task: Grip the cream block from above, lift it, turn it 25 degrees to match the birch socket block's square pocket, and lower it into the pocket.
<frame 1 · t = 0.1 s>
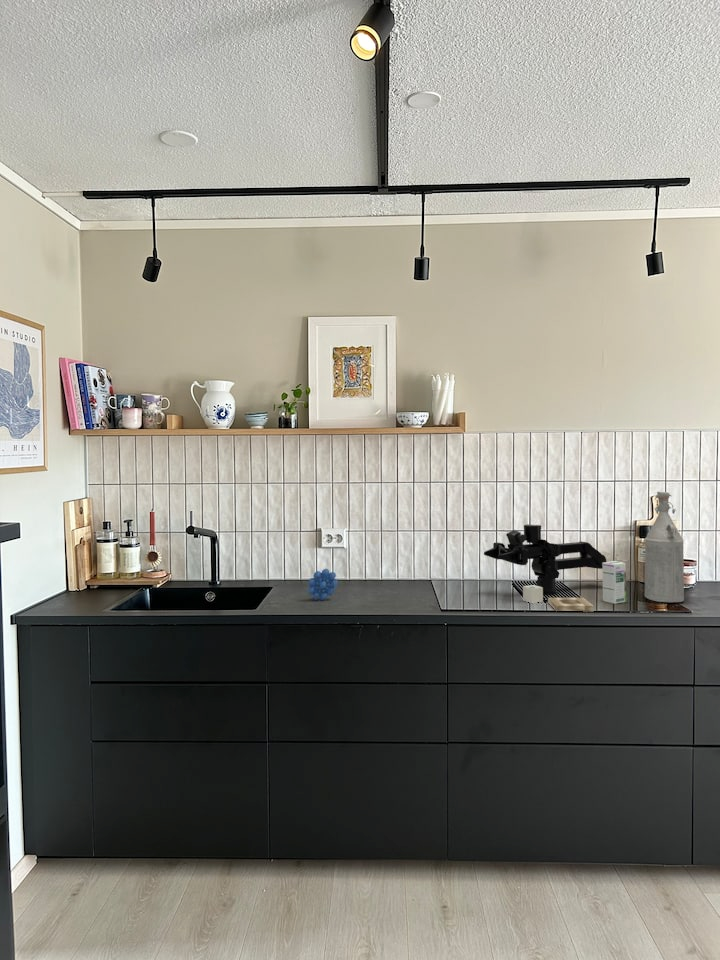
hand: (491, 555, 237), 17 cm above the countertop, tool horizontal, fingers open, 9 cm apart
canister: (664, 599, 232), on the countertop
socket block: (570, 607, 222), on the countertop
cream block: (532, 601, 232), on the countertop
syrup box: (614, 602, 230), on the countertop
grapes: (322, 600, 241), on the countertop
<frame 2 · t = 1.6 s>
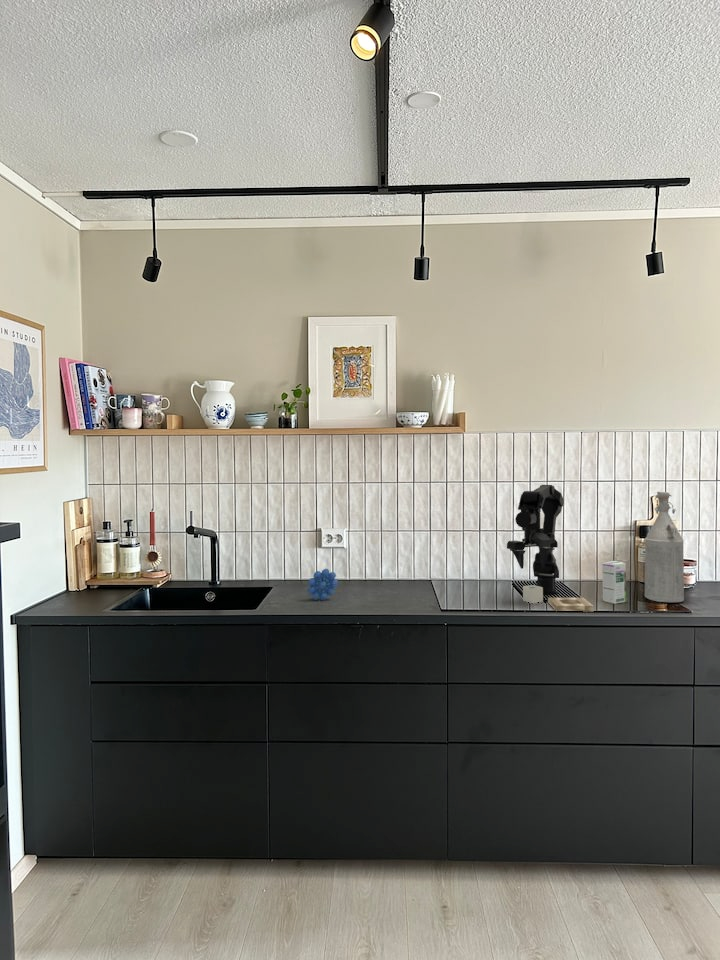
hand: (532, 567, 232), 12 cm above the countertop, tool pointing down, fingers open, 9 cm apart
nothing on the countertop moved.
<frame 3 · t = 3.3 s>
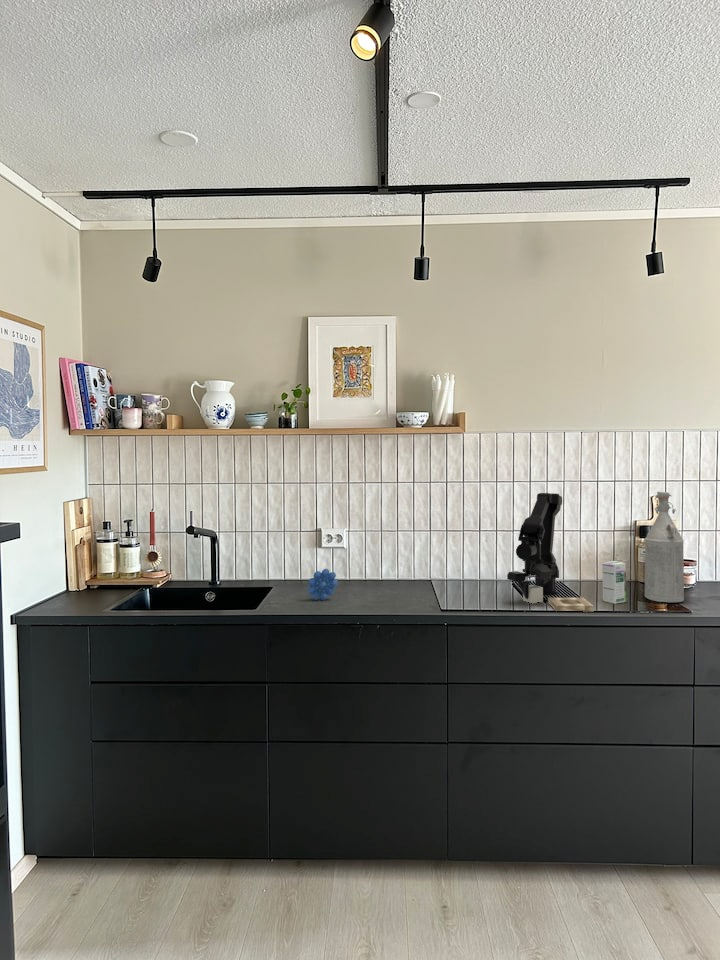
hand: (532, 598, 232), 1 cm above the countertop, tool pointing down, fingers closed on cream block, 5 cm apart
cream block: (532, 601, 232), on the countertop, touching gripper
everything else where it was.
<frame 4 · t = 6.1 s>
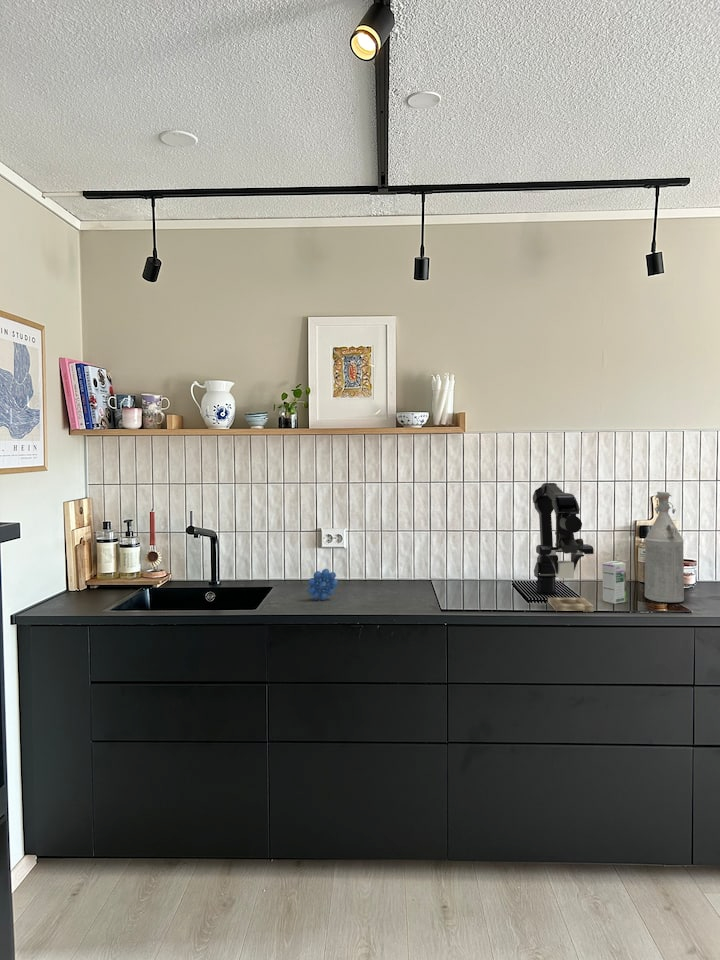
hand: (564, 573, 223), 12 cm above the countertop, tool pointing down, fingers closed on cream block, 5 cm apart
cream block: (564, 577, 223), point 10 cm above the countertop, touching gripper
everything else where it was.
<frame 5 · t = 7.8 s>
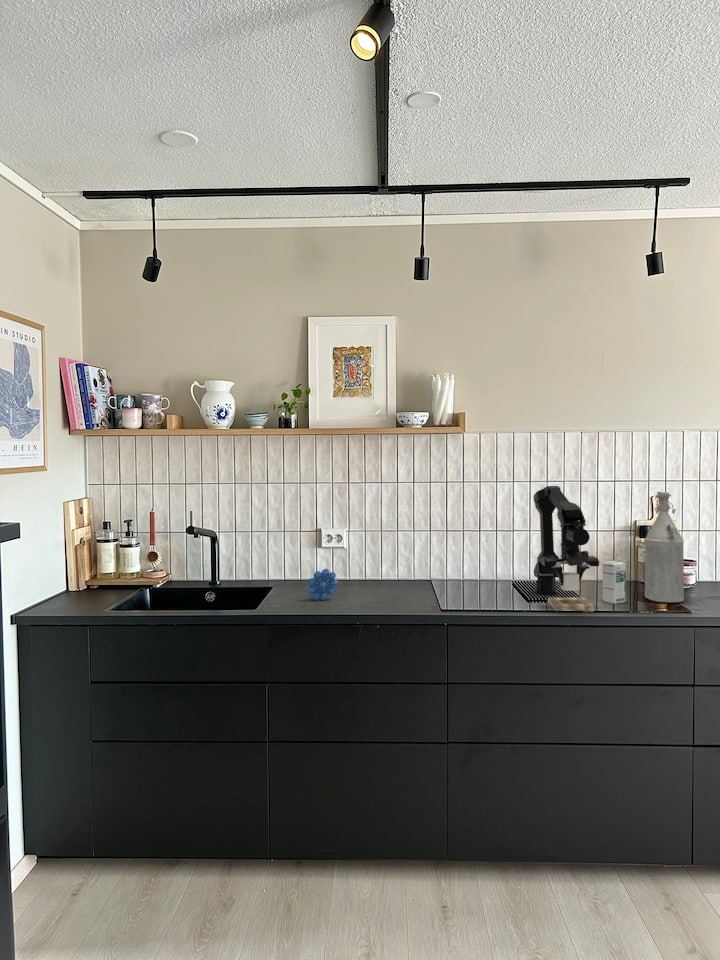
hand: (569, 585, 222), 8 cm above the countertop, tool pointing down, fingers closed on cream block, 5 cm apart
cream block: (569, 589, 222), point 6 cm above the countertop, touching gripper
everything else where it was.
when the fingers open (3 cm above the countertop, at t = 9.3 s): cream block drops 2 cm, resting in socket block.
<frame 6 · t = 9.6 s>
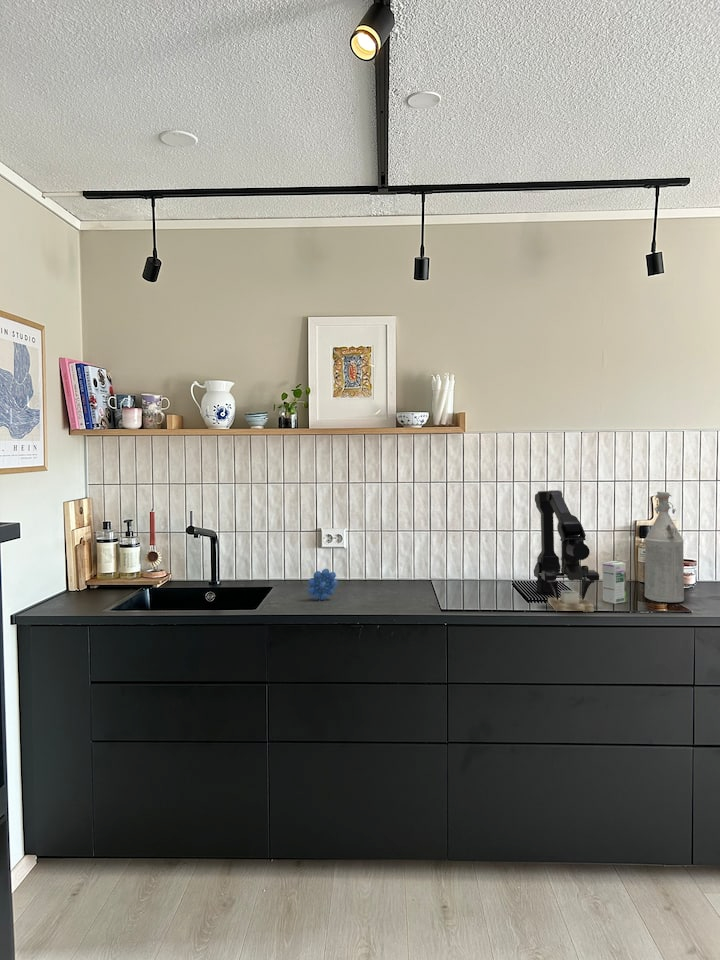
hand: (570, 599, 222), 3 cm above the countertop, tool pointing down, fingers open, 8 cm apart
cream block: (570, 607, 222), resting in socket block
everything else where it was.
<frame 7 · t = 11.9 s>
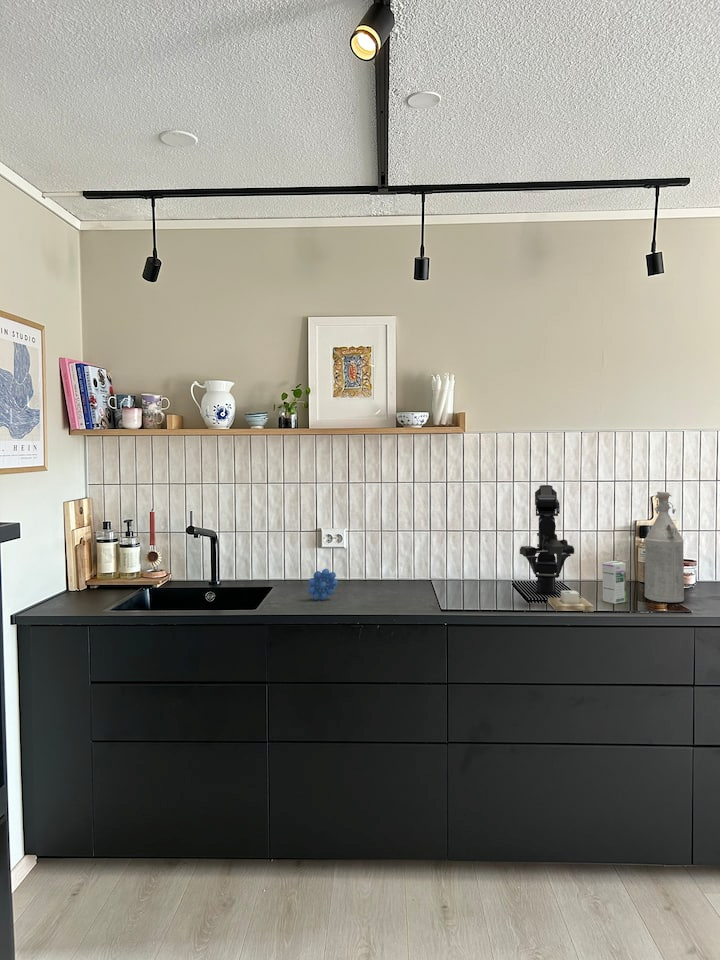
hand: (547, 573, 229), 11 cm above the countertop, tool pointing down, fingers open, 9 cm apart
nothing on the countertop moved.
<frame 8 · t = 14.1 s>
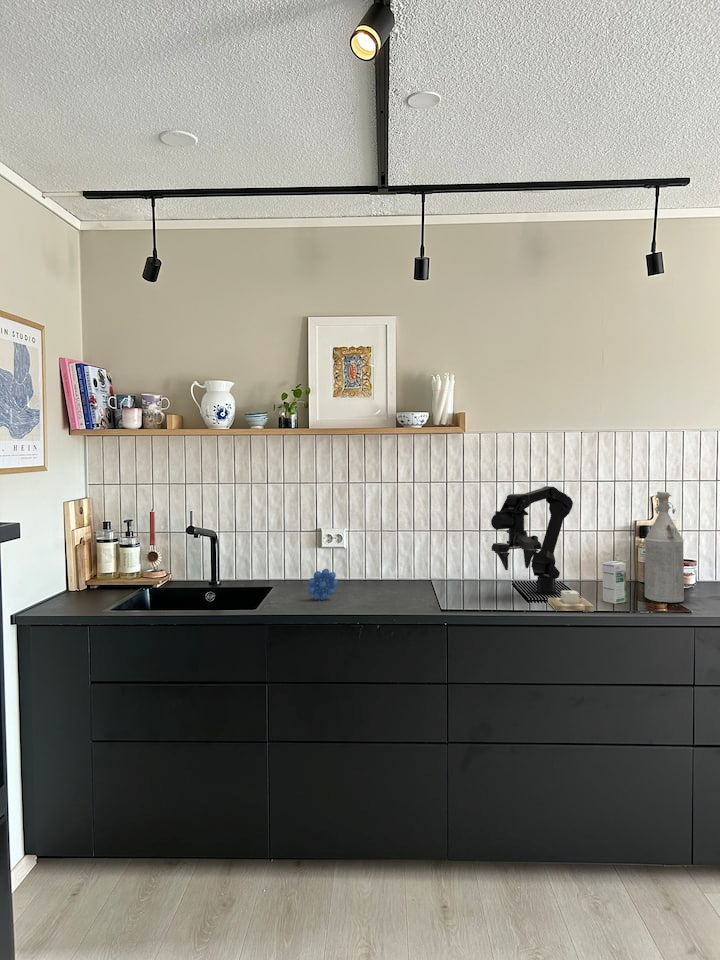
hand: (516, 569, 238), 11 cm above the countertop, tool pointing down, fingers open, 9 cm apart
nothing on the countertop moved.
at the end: cream block 0.0 cm off-centre on the socket block, point 0.0 cm above the socket block's base; cream block tilted 0°; the gripper is holding nothing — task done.
